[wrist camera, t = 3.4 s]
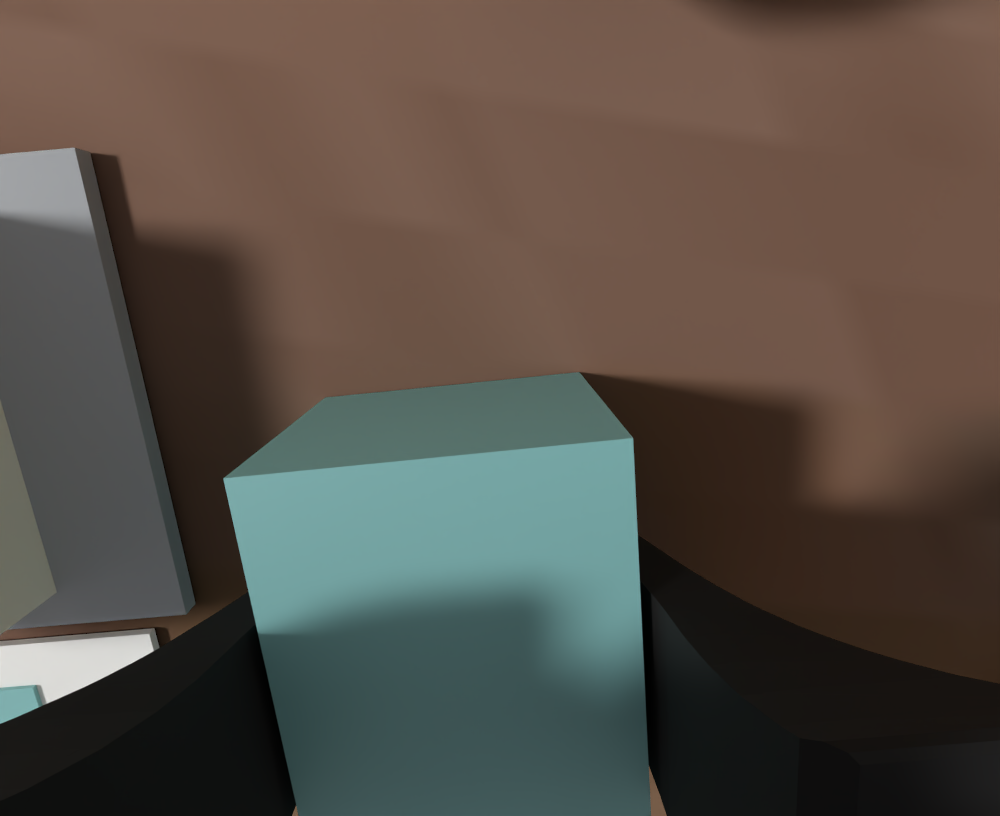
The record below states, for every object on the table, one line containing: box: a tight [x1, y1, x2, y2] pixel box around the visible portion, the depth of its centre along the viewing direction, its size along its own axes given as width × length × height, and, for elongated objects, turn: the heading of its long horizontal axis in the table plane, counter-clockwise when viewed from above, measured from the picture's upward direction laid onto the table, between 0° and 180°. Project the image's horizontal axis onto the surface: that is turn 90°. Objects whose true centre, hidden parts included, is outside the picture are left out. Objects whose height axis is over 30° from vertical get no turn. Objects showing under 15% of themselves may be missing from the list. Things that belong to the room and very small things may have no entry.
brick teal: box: [223, 372, 651, 816], centre depth 10 cm, size 8×5×4 cm, turn 6°
